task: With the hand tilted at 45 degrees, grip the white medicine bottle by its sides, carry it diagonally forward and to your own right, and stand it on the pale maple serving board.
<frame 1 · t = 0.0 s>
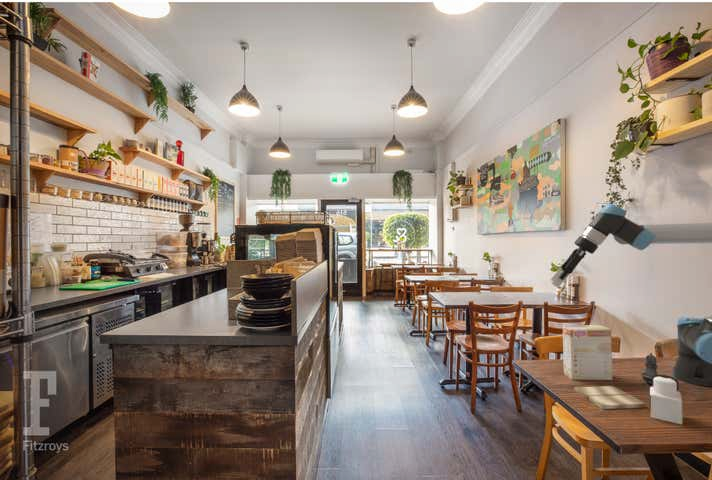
hand: (553, 283, 145), 36 cm above the table, tool tilted 35°, fingers open, 13 cm apart
medicine bottle: (665, 417, 108), on the table
grey chess piece: (651, 386, 130), on the table
coffeecake box: (587, 377, 140), on the table
maple board: (608, 398, 121), on the table
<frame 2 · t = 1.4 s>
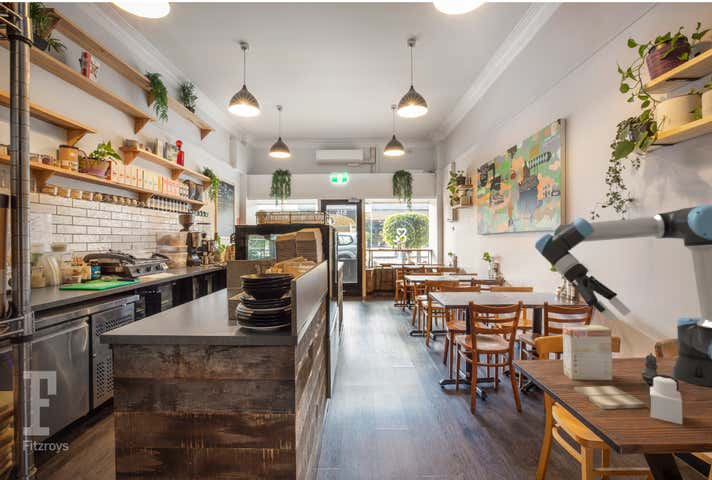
hand: (620, 316, 120), 28 cm above the table, tool tilted 45°, fingers open, 13 cm apart
nothing on the table moved.
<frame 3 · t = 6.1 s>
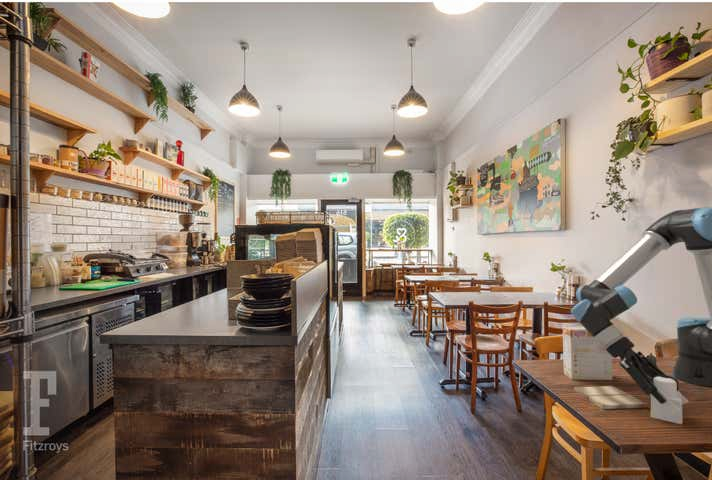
hand: (680, 408, 105), 4 cm above the table, tool tilted 45°, fingers closed on medicine bottle, 8 cm apart
medicine bottle: (665, 417, 108), on the table, touching gripper
everything else where it was.
when the fingers open (6 cm above the table, at t = 11.1 s): medicine bottle drops 1 cm, resting on maple board.
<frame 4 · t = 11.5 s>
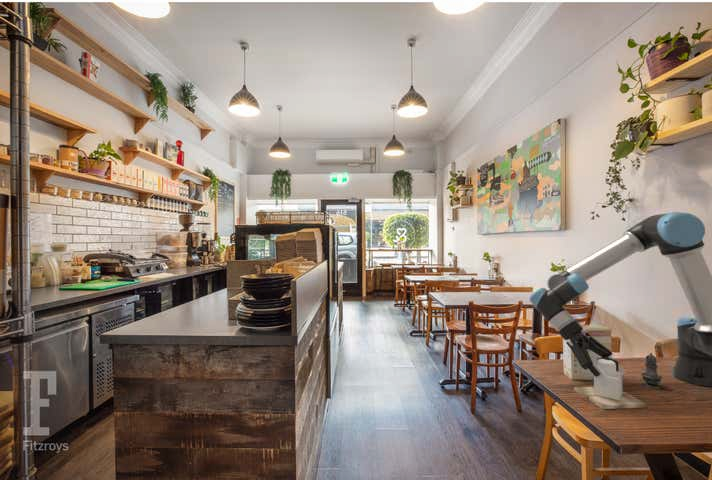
hand: (615, 379, 119), 7 cm above the table, tool tilted 45°, fingers open, 13 cm apart
medicine bottle: (608, 395, 121), point 1 cm above the table, touching maple board
everything else where it was.
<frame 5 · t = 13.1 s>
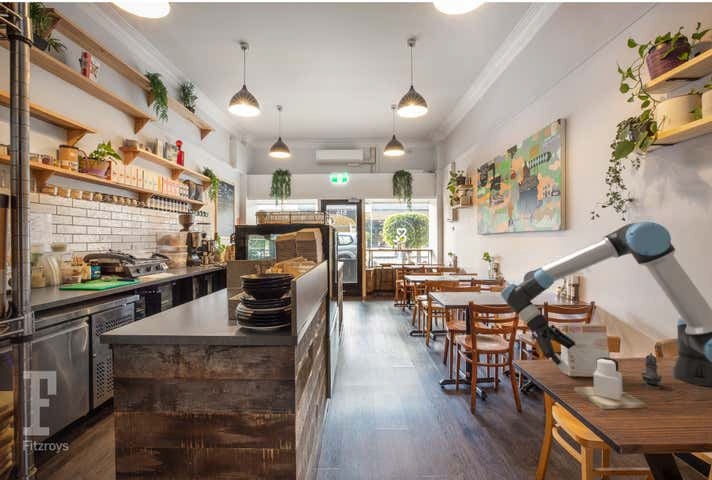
hand: (576, 367, 128), 8 cm above the table, tool tilted 45°, fingers open, 13 cm apart
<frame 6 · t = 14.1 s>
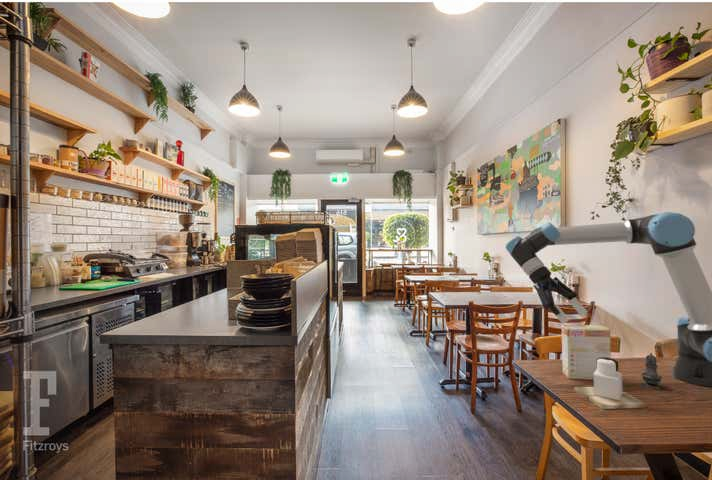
hand: (575, 318, 131), 25 cm above the table, tool tilted 40°, fingers open, 13 cm apart
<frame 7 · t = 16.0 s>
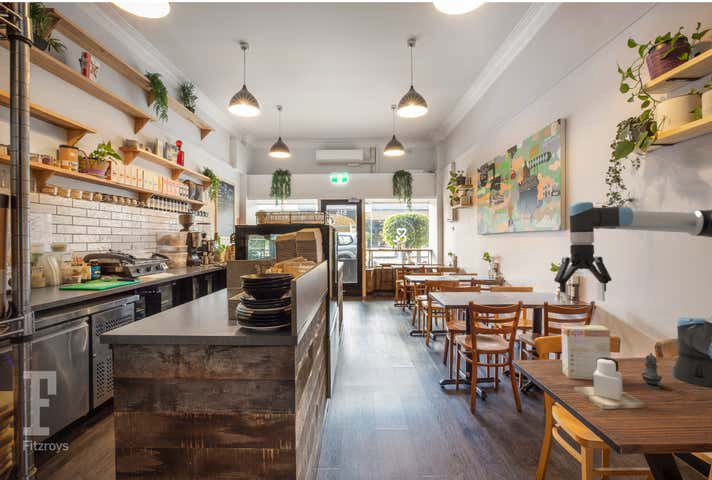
hand: (583, 300, 134), 31 cm above the table, tool pointing down, fingers open, 13 cm apart
nothing on the table moved.
at the end: medicine bottle inside the target area on the maple board (0.3 cm from its centre), point 1.0 cm above the maple board's base; medicine bottle tilted 0°; the gripper is holding nothing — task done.
